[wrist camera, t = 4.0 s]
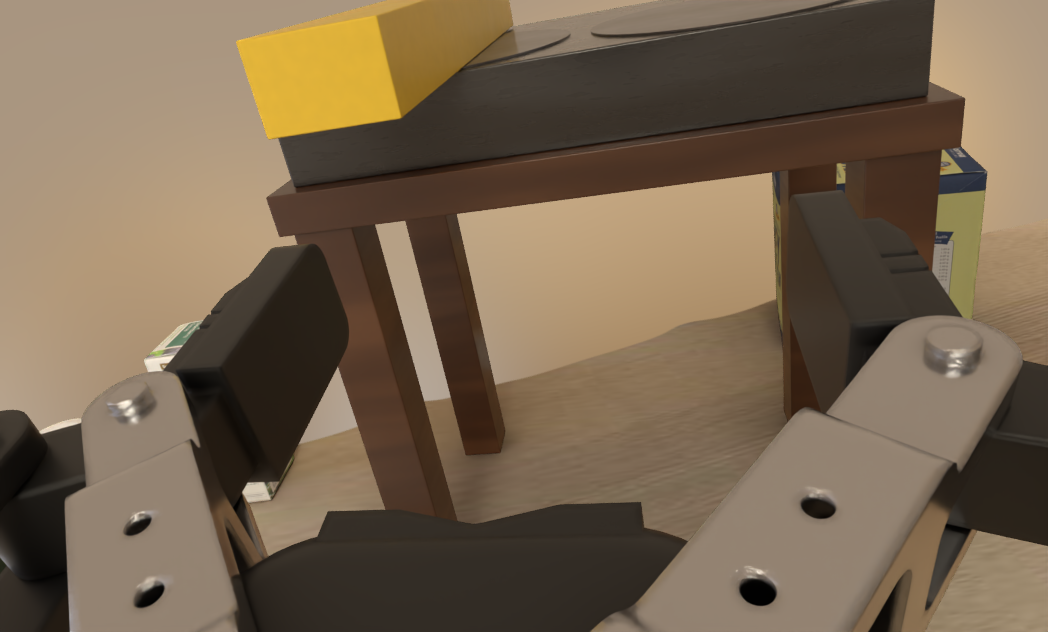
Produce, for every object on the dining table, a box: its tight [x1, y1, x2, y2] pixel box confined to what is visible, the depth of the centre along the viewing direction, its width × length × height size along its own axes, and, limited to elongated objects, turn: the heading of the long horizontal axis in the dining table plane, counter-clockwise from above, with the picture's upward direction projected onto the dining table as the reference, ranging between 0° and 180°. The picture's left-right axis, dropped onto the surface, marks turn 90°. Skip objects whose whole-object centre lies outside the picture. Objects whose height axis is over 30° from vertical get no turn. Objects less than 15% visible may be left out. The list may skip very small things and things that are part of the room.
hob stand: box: [267, 0, 965, 521], centre depth 45 cm, size 20×30×33 cm, turn 84°
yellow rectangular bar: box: [236, 0, 513, 139], centre depth 34 cm, size 27×4×3 cm, turn 174°
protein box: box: [772, 147, 987, 344], centre depth 65 cm, size 10×16×16 cm
